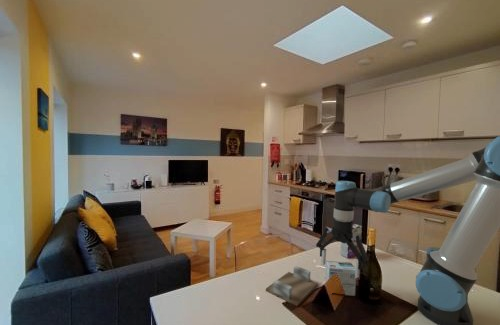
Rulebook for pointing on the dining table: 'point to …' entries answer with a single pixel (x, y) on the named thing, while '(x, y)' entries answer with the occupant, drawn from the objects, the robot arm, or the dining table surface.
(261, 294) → the dining table surface
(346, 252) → the candy bar box
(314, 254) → the dining table surface
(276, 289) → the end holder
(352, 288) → the light bulb box
